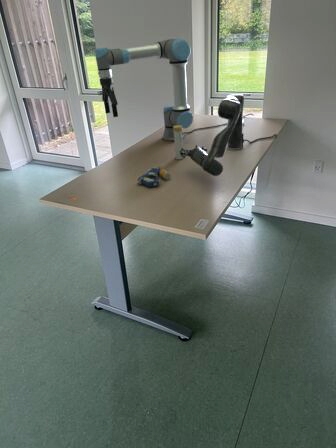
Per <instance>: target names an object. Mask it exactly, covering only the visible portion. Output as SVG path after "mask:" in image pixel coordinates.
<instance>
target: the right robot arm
mask: <svg viewBox="0 0 336 448" xmlns="http://www.w3.org/2000/svg"><path fill="white" fill-rule="evenodd" d="M244 105H245V96H244V94H242V93H241V94H229V95H227V96H226V97H225V98H224V99H222V100H221V101H220V103H219V105H218V107H217V116H218V117H219V118H221V119H224V120H227V123H228V124H226V126H225V127H224V128H223V129H222V130H220V131H219V132H218V133H217V134H216V136H214V138H213V140H212V144H211V146H210V149H209V151H208V148H206V146H199V145H194V146H195V147H194V148H191V149H190V148H187V149H185V148H184V147H183V148H181V150H180V155H181V156H182V157H183V159H185V158H186V157H190V159H191V160H192V161H193V162H194V163H195V164H197V166H199V167H201V168H202V170H203V171H204V172H206V173H207V174H209V175H211V176H213V177H218V176H220V175H221V174H223V171H224V166H223V164H222V163H221V162H220V161H218V160H216V159H221V158H223V157H224V155H225V153H226V149H228V150H229V151H230V150H231V151H237V150H241V149H243V148H244V143H245V142H247V143H249V144H253V143H255V142H257V141H260V140H264V139H266V140H267V139H272V138H274V137H277V136H278V135H277V134H276V133H274V134H273V135H271V136H266V137H265V136H264V137H259V138H256V139H254V140H252V141H250V140H248V139H245V137H244V134H245V133H244V132H243V128H244V127H243V123H244V122H243V120H244V117H243V116H244ZM215 158H216V159H215Z"/></svg>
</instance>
